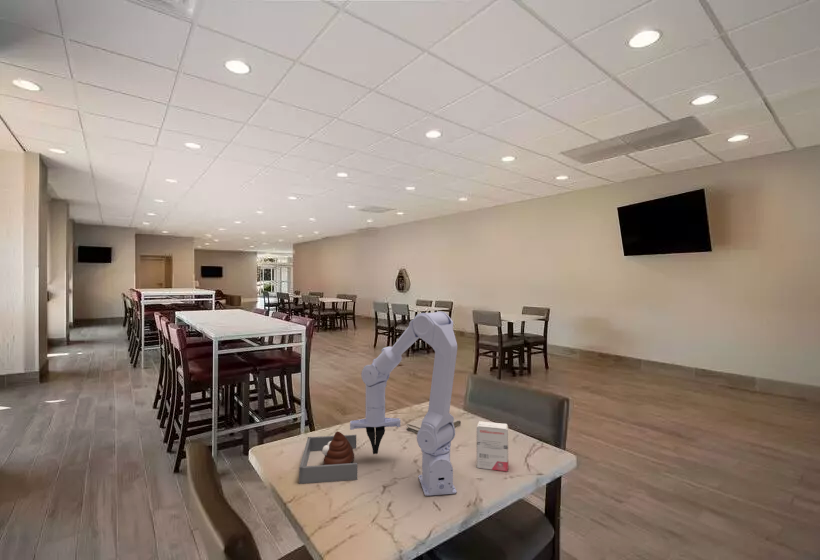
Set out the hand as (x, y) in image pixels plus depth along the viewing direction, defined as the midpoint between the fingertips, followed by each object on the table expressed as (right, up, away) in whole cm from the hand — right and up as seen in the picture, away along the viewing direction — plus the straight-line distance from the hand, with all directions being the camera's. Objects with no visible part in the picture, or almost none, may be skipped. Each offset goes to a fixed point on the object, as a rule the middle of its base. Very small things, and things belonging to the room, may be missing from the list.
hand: (375, 452), depth 109 cm
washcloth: (+19, -4, +26) cm, 32 cm away
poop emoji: (-10, -3, -1) cm, 11 cm away
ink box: (+34, -3, -3) cm, 34 cm away
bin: (-12, -2, -2) cm, 13 cm away
